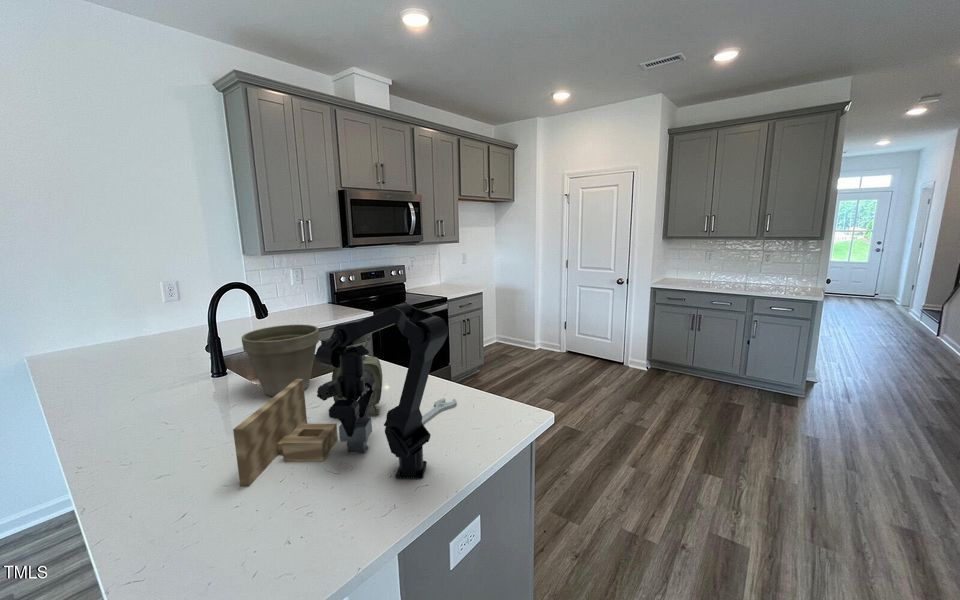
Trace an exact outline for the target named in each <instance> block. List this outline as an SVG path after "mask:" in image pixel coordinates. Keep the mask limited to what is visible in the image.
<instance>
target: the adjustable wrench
mask: <svg viewBox="0 0 960 600" xmlns="http://www.w3.org/2000/svg"><path fill="white" fill-rule="evenodd" d="M433 407H434V408H432V409H431V410H430V411H428V412H426V413H424V414H423V415H422V424H423V425H424V426H425V424H426V423H428V422H429V421H431V420H432V419H434V418H435V417H436V416H437V415H439V414H441V413H442V412H445V411H448V410H452V409H454V408H455V407H457V399H456V398H452V401H449V402H446V398H440V399H439V400H437V401H434V403H433Z"/></svg>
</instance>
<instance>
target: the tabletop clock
mask: <svg viewBox="0 0 960 600" xmlns="http://www.w3.org/2000/svg"><path fill="white" fill-rule="evenodd" d="M363 342H365V343H366V344H365V345H363V347H364V348H366V347H368V343H369V342H368V340H367V339H365V340H364V341H363ZM353 346H354V347H357V346H358V345H353ZM363 364H364V371H366V373H367V375H366V376H365V377H364V378H372V379H373V380H374V381H375V389H374V393H373V395H372V397H371V400H370V403H369V405H368V408H371V407H373V409H374V414H375V415H377V416H378V415H379V414H380V413H381V411H380V409H377V407H376V405H379V403H380V401H381V398H382V390H383V371H382V370H383V369H382V365H381V361H380V359H379V358H378V357H376V356H371V355H364V356H363ZM333 368H334V369H333V371H332V374H331V375H332V376H331V381H332V380H335V379H337V378H338V377H339V376H340V375H341V374H340V367H339V368H335V367H333ZM369 390H370V388H369ZM332 398H333V402H334V403H335V402H336V401H337V400H347V399H346V398H345V397H342V398H337V395H336V396H333V397H332Z"/></svg>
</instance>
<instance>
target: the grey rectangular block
mask: <svg viewBox="0 0 960 600" xmlns="http://www.w3.org/2000/svg"><path fill="white" fill-rule="evenodd" d="M372 424H373V423H372V417H364V418H359V417H358V419H357V423H356V426H355V430H354V433H353V436H352V437H348V436H347V434H346V431H345V429H344V427H343V425H342V423H341V422H340V425H339V426H338V434H339V442H341V443H342V442H343V443H344V442H346V453H347V454H365V453H366V450H367V449H368V439H369V438H370V436H371V434H372V432H373V426H372Z"/></svg>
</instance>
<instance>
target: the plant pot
mask: <svg viewBox="0 0 960 600" xmlns="http://www.w3.org/2000/svg"><path fill="white" fill-rule="evenodd" d="M319 333H320V330H319V327H318V326H315V325H311V324H284V325H277V326H276V325H275V326H269V327H263V328H260V329H255V330H252V331H249V332H247V333H244V334H243V335H242V336H241V343H242V349H243V351H244V352H245V354H247V355H248V358H249V360H250V363H251V365H252V367H253V370H254V372H255V374H256V376H257V379H258V381H259V384H260V387H261V388H262V390H263V392H264V394H265V395H267V396H269V397H274V396H276V395H277V394H278V393H279V392H281V391H282V390H283V389H284V388H286V387H287V386H288V385H289V384H291V383H292V382H293V381H294V380H296V379H303V383H304V391H305V390H306V389H308V387H309V386H310V381H311V377H312V372H313V371H312V370H313V365H314V361H315V354H316V351H317V344H319V342H320V334H319Z"/></svg>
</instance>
